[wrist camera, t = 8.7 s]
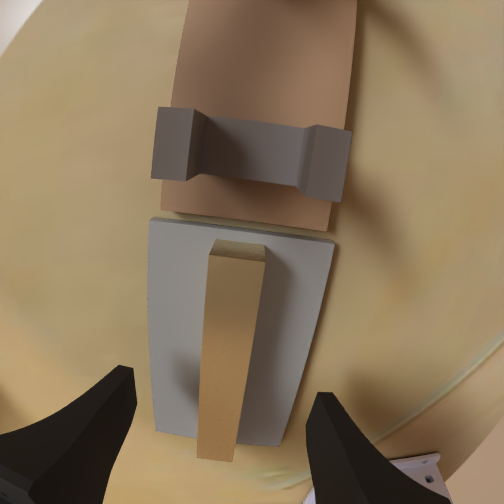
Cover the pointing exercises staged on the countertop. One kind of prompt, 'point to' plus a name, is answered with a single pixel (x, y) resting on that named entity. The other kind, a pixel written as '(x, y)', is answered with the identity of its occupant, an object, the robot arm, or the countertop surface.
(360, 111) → the countertop surface
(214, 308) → the rail
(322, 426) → the robot arm
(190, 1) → the rack
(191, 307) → the mat
